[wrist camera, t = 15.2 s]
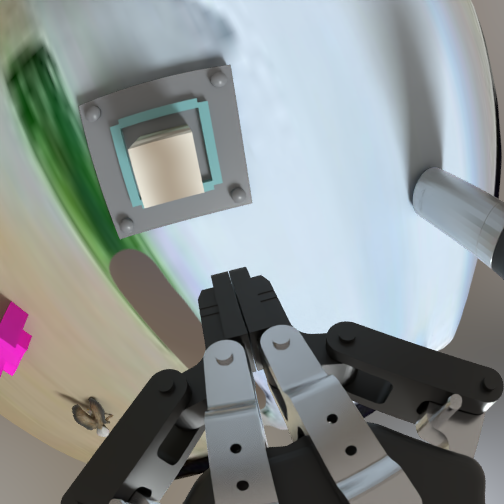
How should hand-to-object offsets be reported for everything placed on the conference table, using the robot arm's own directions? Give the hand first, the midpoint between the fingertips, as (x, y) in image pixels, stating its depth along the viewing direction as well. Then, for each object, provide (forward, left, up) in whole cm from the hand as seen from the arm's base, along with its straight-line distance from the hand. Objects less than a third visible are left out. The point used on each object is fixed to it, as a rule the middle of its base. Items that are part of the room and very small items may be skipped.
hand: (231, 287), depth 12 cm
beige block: (+2, -3, -20) cm, 20 cm away
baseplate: (+2, -3, -22) cm, 22 cm away
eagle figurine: (+36, +47, -19) cm, 62 cm away
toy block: (+39, +17, -22) cm, 47 cm away
